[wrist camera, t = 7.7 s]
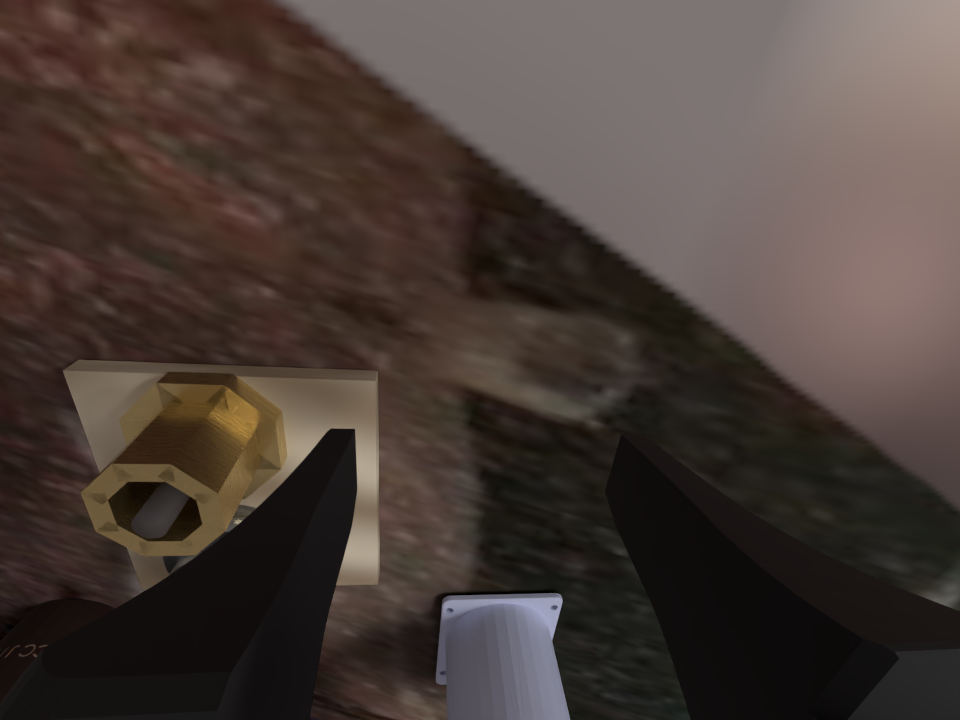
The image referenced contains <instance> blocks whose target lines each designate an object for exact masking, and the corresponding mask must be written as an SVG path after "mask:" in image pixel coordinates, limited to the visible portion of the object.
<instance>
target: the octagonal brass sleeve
mask: <svg viewBox="0 0 960 720" xmlns="http://www.w3.org/2000/svg"><path fill="white" fill-rule="evenodd" d="M119 422H120V425H121V428H122V432H123V435H124V438H125V441H126V444H127V445H126V446H125V447H124V448H123V449H122V450H121V451H120V452H119V453H118V455H117V456H116V457H115V458H114V459H113V460H112V461H111V462H110V463H109V464H108V465H107V466H106V467H105V468H104V469H103V470H102V471H101V472H100V473H99V474H98V475H97V477H96V478H95V479H94V480H93V481H92V482H91V483H90V484H89V485H88V486H87V487H86V488H85V489H84V490H83V491H82V492H81V495H82V498H83V500H84V503H85V505H86V508H87V510H88V513H89V516H90V518H91V521H92V523H93V526H94V528H95V531H96V532H98V533H100V534H102V535H103V536H105V537H107V538H109V539H111V540H113V541H115V542H117V543H119V544H121V545H123V546H125V547H127V548H129V549H131V550H133V551H135V552H136V553H138V554H140V555H142V556H191V555H197V554H198V553H199V552H200V551H201V550H203V549H204V548H205V547H206V546H208V545H209V544H210V543H211V542H213V541H214V540H215V539H216V538H218V537H219V536H220V535H221V534H223V533H224V532H225V531H226V530H227V528H228V526H229V524H230V522H231V520H232V518H233V516H234V514H235V512H236V510H237V508H238V506H239V504H240V502H241V500H242V499H246V498H247V497H248V496H250V495H251V494H252V493H253V492H255V491H256V490H257V489H258V488H259V487H261V486H262V485H263V484H264V483H266V482H267V481H268V480H269V479H270V478H272V477H273V476H274V475H275V474H277V473H278V472H279V471H280V470H282V467H283V465H284V463H285V460H286V458H287V448H286V440H285V432H284V424H283V415H282V410H280V409H279V408H278V407H276V406H275V405H274V404H273V403H271V402H270V401H269V400H267V399H266V398H265V397H263V396H262V395H261V394H259V393H258V392H257V391H255V390H254V389H253V388H251V387H250V386H249V385H247V384H246V383H245V382H243V381H242V380H241V379H239V378H238V377H237V376H235V375H234V374H223V373H194V372H167V373H166V374H165V375H164V376H163V377H162V378H161V379H160V380H159V381H158V382H157V383H156V384H155V385H154V386H153V387H152V388H151V389H150V390H149V391H148V392H147V393H145V394H144V395H143V396H142V397H141V398H140V399H139V400H138V401H137V402H136V403H135V404H134V405H133V406H132V407H131V408H130V409H129V410H128V411H127V412H126V413H125V414H124V415H123V416H122V417H121V418H120V419H119ZM161 482H167V483H168V484H170V485H172V486H173V487H175V488H177V489H178V490H180V491H182V492H183V493H185V494H187V495H188V496H190V498H189V499H188V501H187V502H186V504H185V505H184V507H183V508H182V510H181V512H180V513H179V515H178V516H177V518H176V519H175V521H174V522H173V524H172V525H171V527H170V528H169V530H168V531H167V533H166V534H165V535H164V536H162V537H160V538H146V537H143V536H141V535H139V534H137V533H136V532H135V531H134V530H133V528H132V526H131V523H132V520H133V519H134V517H135V516H136V515H137V513H138V512H139V511H140V509H141V508H142V507H143V505H144V504H145V503H146V502H147V500H148V499H149V498H150V496H151V495H152V494H153V492H154V491H155V490H156V488H157V487H158V486H159V484H160V483H161Z"/></svg>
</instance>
